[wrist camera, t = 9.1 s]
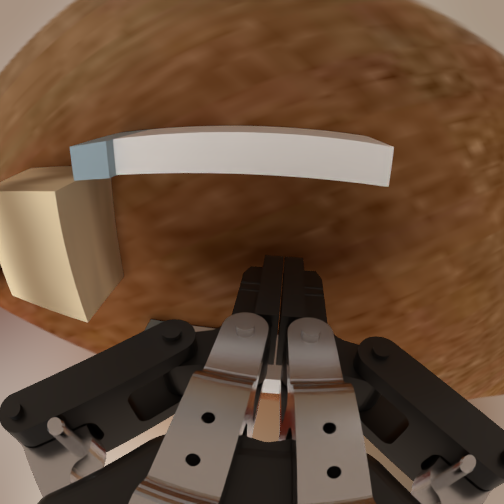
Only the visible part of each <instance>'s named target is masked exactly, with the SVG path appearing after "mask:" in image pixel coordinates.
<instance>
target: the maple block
mask: <svg viewBox="0 0 504 504" xmlns="http://www.w3.org/2000/svg"><path fill="white" fill-rule="evenodd" d="M0 264H1V267H2V270H3V273H4V275H5V278H6V281H7V283H8V286H9V288H10V291H11V293H12V295H13V296H15V297H18V298H20V299H23V300H25V301H28V302H30V303H33V304H36V305H38V306H41V307H44V308H46V309H49V310H52V311H55V312H58V313H60V314H63V315H66V316H69V317H72V318H75V319H78V320H82V321H85V322H89V320H90V319H91V318H92V316H93V315H94V314H95V313H96V311H97V310H98V309H99V307H100V306H101V305H102V303H103V302H104V301H105V300H106V298H107V297H108V296H109V295H110V293H111V292H112V291H113V290H114V288H115V287H116V286H117V285H118V283H119V282H120V281H121V280H122V278H123V277H124V274H123V268H122V263H121V257H120V251H119V244H118V238H117V230H116V223H115V215H114V206H113V196H112V184H111V178H106V179H90V180H77V181H74V177H73V170H72V166H57V167H41V168H30V169H28V170H26V171H23V172H21V173H19V174H17V175H15V176H12V177H10V178H8V179H6V180H4V181H2V182H0Z"/></svg>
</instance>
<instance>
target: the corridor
mask: <svg viewBox="0 0 504 504" xmlns="http://www.w3.org/2000/svg"><path fill="white" fill-rule="evenodd" d="M393 151H394V147H393V146H390V145H388V144H385V143H383V142H380V141H378V140H375V139H373V138H370V137H368V136H363V135H356V134H349V133H341V132H333V131H324V130H313V129H302V128H288V127H269V126H192V127H174V128H160V129H149V130H139V131H130V132H122V133H117V134H113V135H109V136H105V137H102V138H98V139H94V140H91V141H87V142H84V143H81V144H77V145H74V146H71V147H70V153H71V162H72V170H73V177H74V181H77V180H90V179H106V178H111V177H113V176H115V175H126V174H152V173H229V174H256V175H275V176H290V177H304V178H316V179H326V180H336V181H346V182H354V183H363V184H371V185H378V186H385V187H389V180H390V174H391V167H392V159H393ZM161 322H164V321H158V320H152V319H151V320H150V322H149V324H148V325H147V327H146V329H145V330H147V329H149V328H151V327H153V326H155V325H157V324H159V323H161ZM193 328H194V329H195V332H198V331H207V330H213V329H215V328H206V327H199V326H193ZM277 344H278V335H277V340H276V349H275V358H274V365H268V369H267V375H266V378H265V380H264V385H263V390H262V392H264V393H277V394H280V392H279V384H280V378H281V367H282V366H281V365H276V355H277Z"/></svg>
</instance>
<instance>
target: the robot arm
mask: <svg viewBox="0 0 504 504" xmlns="http://www.w3.org/2000/svg"><path fill="white" fill-rule="evenodd" d="M282 270H283V256H271V255H265V259H264V265H263V267H253V266H251V267H250V268H249V269H247V270H246V271H245V272H244V273H243V277H242V281H241V284H240V288H239V291H238V295H237V298H236V302H235V306H234V309H233V313H232V315H231V316H229V317H228V318H227V319H226V320H225V321H224V322H223V324H222V326H221V327H219V328H217V329H213V330H207V331H198V332H195V329H194V328H193V326H192V325H191V324H189V323H188V322H186V321H183V320H176V319H174V320H167V321H164V322H161V323H159V324H157V325H155V326H153V327H151V328H149V329H147V330H145V331H143V332H141V333H139V334H137V335H135V336H133V337H131V338H129V339H127V340H125V341H123V342H121V343H119V344H117V345H115V346H113V347H111V348H109V349H107V350H105V351H103V352H101V353H99V354H96V355H94V356H93V357H90V358H88V359H86V360H84V361H82V362H80V363H78V364H76V365H74V366H72V367H69V368H67V369H65V370H63V371H61V372H59V373H57V374H54V375H52V376H50V377H48V378H46V379H44V380H42V381H39V382H37V383H35V384H33V385H31V386H29V387H26V388H24V389H22V390H20V391H18V392H16V393H13V394H11V395H9V396H8V397H7V398H6V399H5V400H4V401H3V403H2V404H1V407H0V422H1V424H2V426H3V427H4V428H5V429H6V430H7V431H8V432H9V433H10V434H11V435H12V436H13V437H15V438H16V439H17V440H18V442H19V443H20V444H21V445H22V446H23V448H24V451H25V454H26V457H27V460H28V462H29V465H30V468H31V470H32V473H33V475H34V478H35V480H36V483H37V485H38V487H39V490H40V492H41V494H42V496H43V498H42V499H41V500H40V501H39V503H38V504H483V503H484V501H485V500H486V498H487V496H488V495H489V493H490V491H492V490H493V489H494V488H496V487H497V486H499V485H501V484H502V483H504V430H503V429H502V428H500V427H499V426H498V425H497V424H496V423H494V422H493V421H492V420H491V419H489V418H488V417H487V416H486V415H484V414H483V413H482V412H481V411H480V410H478V409H477V408H476V407H475V406H473V405H472V404H471V403H469V402H468V401H467V400H466V399H465V398H463V397H462V396H461V395H460V394H458V393H457V392H456V391H455V390H453V389H452V388H451V387H450V386H448V385H447V384H446V383H445V382H443V381H442V380H441V379H440V378H438V377H437V376H436V375H434V374H433V373H432V372H431V371H429V370H428V369H427V368H426V367H424V366H423V365H422V364H420V363H419V362H418V361H417V360H415V359H414V358H413V357H412V356H410V355H409V354H408V353H406V352H405V351H404V350H403V349H401V348H400V347H399V346H397V345H396V344H395V343H394V342H392V341H390V340H388V339H386V338H383V337H369V338H367V339H365V340H363V341H362V342H361V343H360V345H357V344H354V343H350V342H347V341H344V340H342V339H340V338H338V337H336V336H335V335H334V334H333V331H332V329H331V327H330V326H329V325H328V324H327V317H326V309H325V300H324V293H323V285H322V279H321V278H320V276H319V275H318V274H317V273H316V271H304V263H303V258H297V257H285V262H284V273H283V284H282ZM281 285H282V294H281ZM280 298H281V307H280ZM279 311H280V320H279ZM278 322H279V332H278V344H277V355H276V365H281V366H282V367H281V378H280V384H279V392H280V432H279V433H280V434H279V441H276V442H262V441H259V440H256V439H253V438H252V433H253V428H254V423H255V419H256V415H257V411H258V407H259V403H260V398H261V394H262V390H263V385H264V380H265V378H266V375H267V369H268V365H274V358H275V349H276V340H277V331H278ZM174 414H175V415H174ZM172 415H174V417H173V419H172V422H171V424H170V426H169V428H168V431H167V433H166V434H165V435H162V436H159V437H156V438H154V439H152V440H149V441H148V442H146V443H144V444H143V445H141V446H140V447H138V448H136V449H134V450H133V451H131V452H129V453H128V454H126V455H124V456H122V457H121V458H119V459H118V460H116V461H114V462H112V463H110V464H108V465H106V466H105V467H104V464H105V460H106V452H108V451H110V450H112V449H114V448H115V447H117V446H119V445H121V444H123V443H125V442H127V441H129V440H130V439H132V438H134V437H136V436H138V435H139V434H141V433H143V432H145V431H147V430H148V429H150V428H152V427H154V426H155V425H157V424H159V423H160V422H162V421H164V420H166V419H167V418H169V417H170V416H172ZM363 435H364V436H365V437H366V438H367V439H368V440H369V441H370V442H371V443H372V444H374V446H375V447H377V448H378V449H379V450H380V451H381V452H382V453H383V454H384V455H385V456H386V457H387V458H388V459H389V460H390V461H391V462H393V463H394V464H395V465H396V466H397V467H398V468H399V469H400V470H401V471H403V472H404V473H405V474H406V475H407V476H408V477H409V478H410V479H411V480H413V481H414V482H413V485H412V492H411V493H410V492H409V491H408V490H407V489H406V488H405V487H404V486H403V485H402V484H401V483H400V482H398V480H397V479H396V478H395V477H393V476H392V474H391V473H390V472H389V471H387V469H386V468H385V467H384V466H383V465H382V464H380V462H379V461H377V460H376V459H375V458H373V457H372V456H371V455H369V454H367V453H366V449H365V443H364V438H363Z"/></svg>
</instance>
